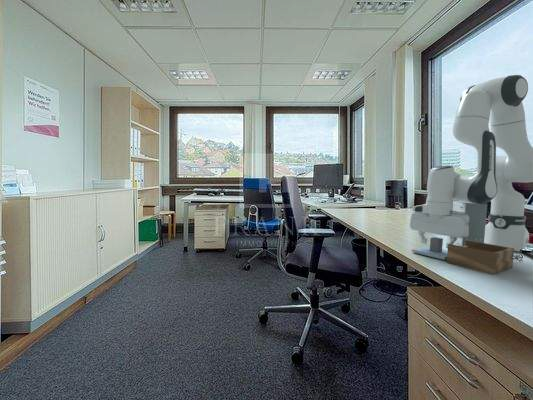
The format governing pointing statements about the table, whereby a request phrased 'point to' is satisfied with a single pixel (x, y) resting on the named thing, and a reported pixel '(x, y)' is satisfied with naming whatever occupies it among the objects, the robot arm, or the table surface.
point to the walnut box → (481, 256)
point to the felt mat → (430, 256)
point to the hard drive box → (472, 221)
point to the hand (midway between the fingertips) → (436, 245)
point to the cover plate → (433, 254)
